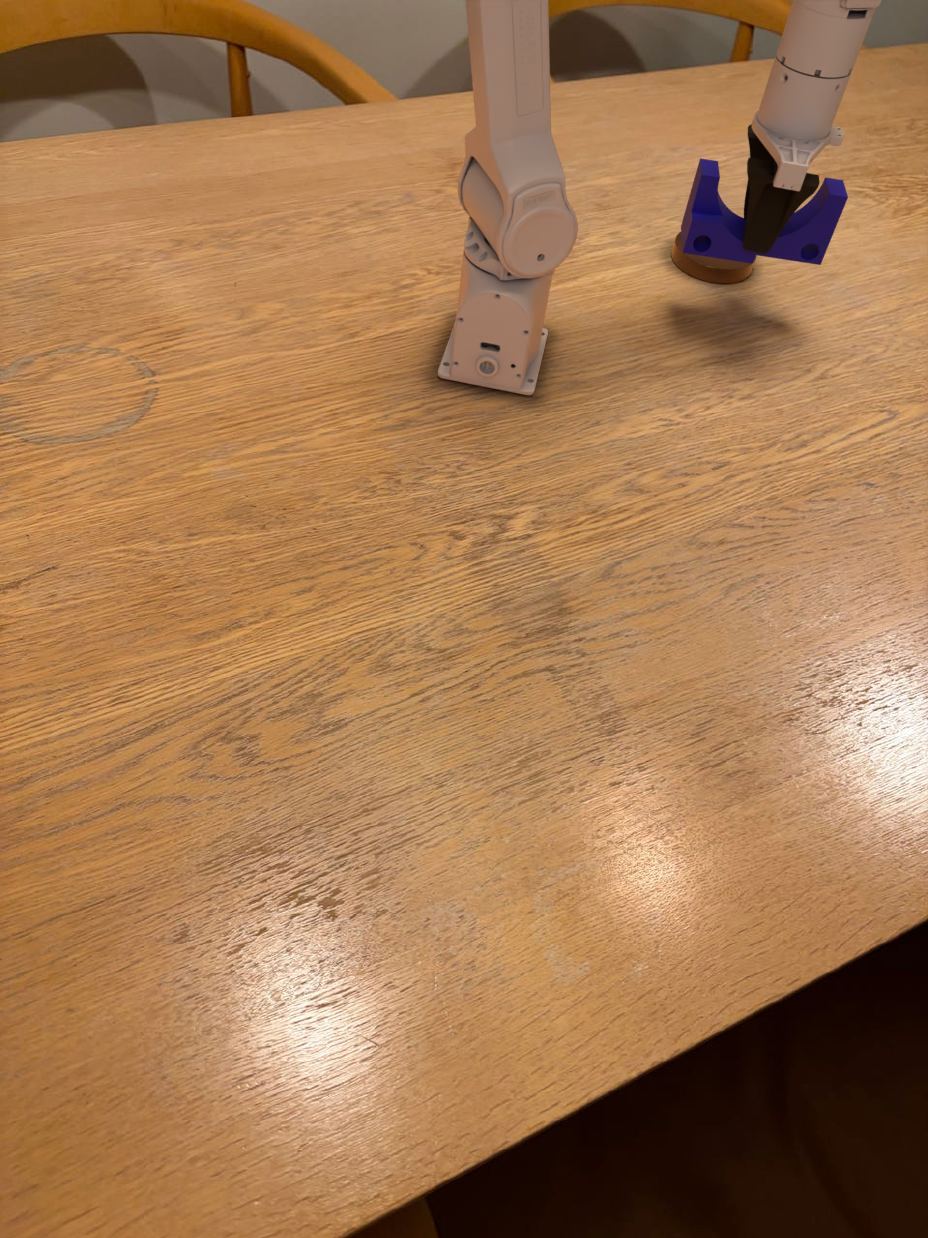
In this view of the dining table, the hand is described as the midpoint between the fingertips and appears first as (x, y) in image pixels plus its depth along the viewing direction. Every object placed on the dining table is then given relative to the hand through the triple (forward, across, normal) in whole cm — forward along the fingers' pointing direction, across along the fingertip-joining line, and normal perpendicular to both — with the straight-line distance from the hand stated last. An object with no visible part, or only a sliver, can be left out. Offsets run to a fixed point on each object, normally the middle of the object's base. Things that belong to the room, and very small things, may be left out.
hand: (755, 234), depth 84 cm
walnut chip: (+8, +10, +2) cm, 13 cm away
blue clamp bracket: (+2, 0, 0) cm, 2 cm away
